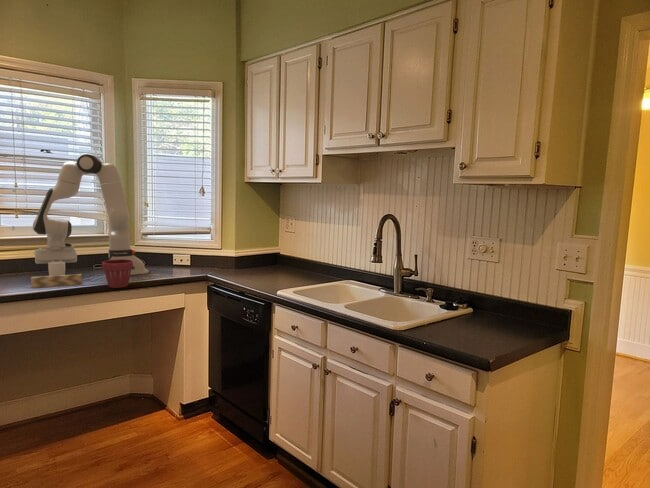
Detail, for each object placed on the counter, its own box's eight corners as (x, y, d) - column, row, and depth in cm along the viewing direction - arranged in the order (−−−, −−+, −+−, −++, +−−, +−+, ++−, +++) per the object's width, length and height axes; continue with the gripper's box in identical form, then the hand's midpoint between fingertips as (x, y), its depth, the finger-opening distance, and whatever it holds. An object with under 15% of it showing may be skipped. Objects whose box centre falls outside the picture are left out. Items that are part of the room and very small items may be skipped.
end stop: (81, 282, 243) (81, 273, 243) (82, 284, 239) (81, 274, 239) (32, 285, 232) (31, 276, 232) (31, 287, 228) (31, 277, 228)
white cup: (48, 283, 240) (47, 264, 239) (49, 280, 247) (48, 261, 246) (65, 282, 244) (65, 263, 243) (66, 279, 251) (65, 261, 250)
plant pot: (102, 289, 228) (101, 263, 227) (103, 284, 241) (102, 259, 239) (133, 287, 234) (133, 262, 232) (132, 282, 246) (132, 258, 245)
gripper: (34, 245, 253) (33, 265, 246) (76, 244, 264) (77, 263, 256) (34, 252, 258) (34, 272, 250) (76, 251, 268) (77, 270, 260)
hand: (56, 268), depth 253 cm, fingers closed
